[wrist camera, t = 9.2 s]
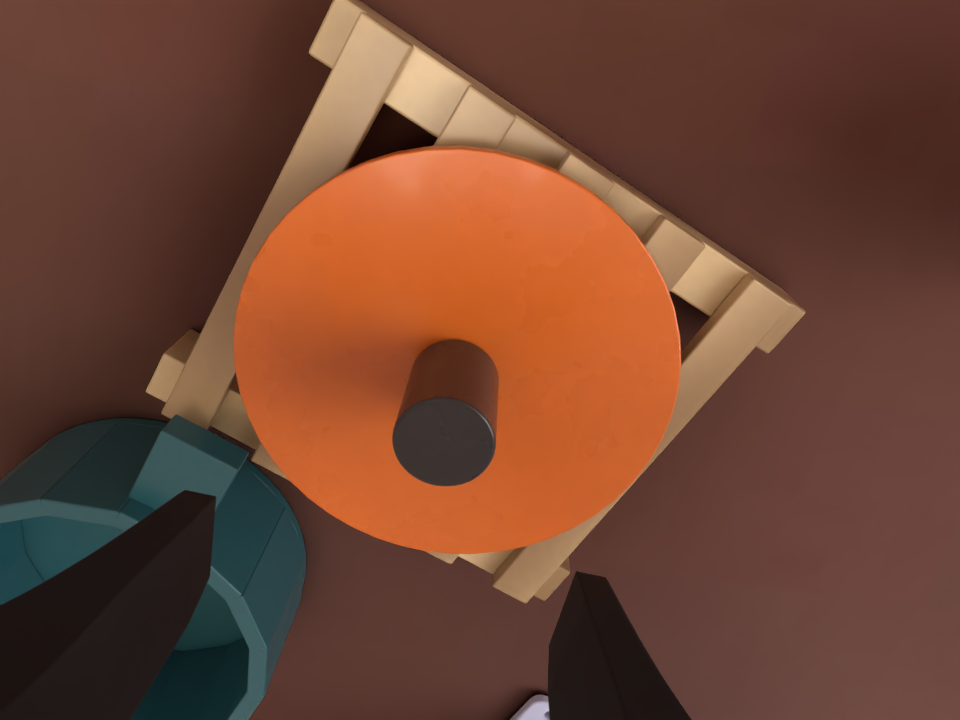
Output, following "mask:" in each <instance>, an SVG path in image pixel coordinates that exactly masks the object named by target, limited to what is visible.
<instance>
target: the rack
mask: <svg viewBox="0 0 960 720" xmlns="http://www.w3.org/2000/svg"><path fill="white" fill-rule="evenodd" d="M309 54H310V55H311V56H313V57H314V58H316V59H317V60H319V61H320V62H322V63H323V64H325V65H326V66H328V67H329V68H331V69H332V70H331V72H330V74H329V76H328V78H327V80H326V82H325V84H324V86H323V88H322V90H321V92H320V94H319V96H318V98H317V101H316V103H315V105H314V107H313V109H312V111H311V113H310V115H309V117H308V119H307V121H306V123H305V125H304V127H303V129H302V131H301V133H300V135H299V137H298V139H297V141H296V143H295V145H294V147H293V149H292V151H291V153H290V155H289V157H288V159H287V161H286V163H285V165H284V167H283V169H282V171H281V173H280V175H279V177H278V179H277V181H276V183H275V185H274V187H273V189H272V191H271V193H270V195H269V197H268V199H267V201H266V203H265V205H264V207H263V209H262V211H261V213H260V215H259V217H258V219H257V221H256V223H255V225H254V227H253V229H252V231H251V233H250V235H249V237H248V239H247V241H246V243H245V245H244V247H243V249H242V251H241V253H240V255H239V257H238V259H237V261H236V263H235V265H234V267H233V269H232V271H231V273H230V275H229V277H228V279H227V281H226V283H225V285H224V287H223V289H222V291H221V293H220V295H219V297H218V299H217V301H216V303H215V305H214V307H213V309H212V311H211V313H210V315H209V317H208V319H207V321H206V323H205V325H204V327H203V329H202V331H201V334H199V333H198V332H196V331H194V330H192V329H190V330H189V331H188V332H187V333H186V334H185V335H184V336H182V337H181V338H180V339H179V340H178V341H177V342H176V343H175V344H174V345H173V346H171V347H170V348H169V349H168V350H167V351H166V352H165V353H164V354H163V356H162V358H161V360H160V362H159V364H158V366H157V368H156V370H155V373H154V375H153V377H152V379H151V381H150V383H149V385H148V387H147V389H146V392H147V393H148V394H150V395H152V396H154V397H156V398H158V399H160V400H162V401H164V402H166V404H165V406H164V408H163V410H162V413H161V414H162V415H164V416H166V417H168V418H170V419H172V418H173V417H174V415H176V414H177V415H179V416H181V417H183V418H185V419H187V420H189V421H191V422H193V423H194V424H196V425H198V426H200V427H202V428H204V429H206V430H207V429H208V428H209V426H211V427H213V428H215V429H217V430H219V431H221V432H223V433H225V434H227V435H228V436H230V437H232V438H234V439H236V440H238V441H240V442H242V443H244V444H246V445H248V446H249V447H251V448H253V449H255V452H254V454H253V455H252V457H251V461H252V462H254V463H256V464H258V465H260V466H262V467H264V468H266V469H268V470H270V471H272V472H274V473H275V474H277V475H279V476H281V477H283V478H285V479H287V480H289V479H288V478H287V477H286V476H285V474H284V473H283V472H282V471H281V470H280V469H279V467H278V466H277V465H276V464H275V463H274V462H273V460H272V459H271V457H270V456H269V454H268V452H267V451H266V449H265V448H264V446H263V445H262V443H261V442H260V440H259V438H258V436H257V434H256V432H255V430H254V428H253V426H252V424H251V422H250V420H249V418H248V416H247V413H246V410H245V407H244V404H243V401H242V398H241V395H240V392H239V387H238V382H237V376H236V371H235V366H234V345H233V336H234V326H235V316H236V310H237V306H238V302H239V298H240V294H241V290H242V286H243V284H244V281H245V279H246V276H247V274H248V272H249V269H250V267H251V264H252V262H253V260H254V258H255V257H256V255H257V253H258V252H259V250H260V248H261V247H262V245H263V243H264V242H265V240H266V238H267V237H268V235H269V234H270V233H271V232H272V231H273V229H274V228H275V227H276V226H277V225H278V223H279V222H280V221H281V220H282V219H283V217H284V216H285V215H286V214H287V213H288V212H289V211H290V210H291V209H292V208H294V207H295V206H296V205H297V204H298V203H299V202H300V201H301V200H303V199H304V198H305V197H306V196H307V195H308V194H309V193H311V192H312V191H313V190H315V189H316V188H318V187H319V186H321V185H322V184H324V183H325V182H327V181H328V180H330V179H331V178H333V177H334V176H336V175H337V174H339V173H341V172H343V171H346V170H348V169H349V167H350V165H351V163H352V161H353V159H354V158H355V156H356V154H357V152H358V150H359V148H360V146H361V145H362V143H363V141H364V139H365V137H366V135H367V133H368V132H369V130H370V128H371V126H372V124H373V122H374V120H375V119H376V117H377V115H378V113H379V111H380V109H381V107H382V106H383V104H386V105H387V106H389V107H390V108H392V109H393V110H395V111H396V112H398V113H400V114H401V115H403V116H404V117H406V118H407V119H409V120H410V121H412V122H413V123H415V124H416V125H418V126H419V127H421V128H422V129H424V130H425V131H427V132H429V133H430V134H432V135H433V136H435V137H436V138H438V139H437V140H436V142H435V144H434V145H433V146H458V145H463V146H472V147H480V148H489V149H496V150H500V151H504V152H508V153H512V154H516V155H520V156H524V157H527V158H530V159H532V160H535V161H537V162H540V163H542V164H545V165H547V166H549V167H552V168H554V169H557V170H559V171H560V172H562V173H564V174H566V175H567V176H569V177H571V178H573V179H574V180H576V181H578V182H580V183H581V184H583V185H585V186H586V187H587V188H589V189H590V190H591V191H593V192H594V193H595V194H596V195H598V196H599V197H600V198H602V199H603V200H604V201H605V202H607V203H608V204H609V205H610V206H611V207H612V208H613V209H614V210H615V211H616V212H617V213H618V214H619V215H620V216H621V217H622V218H623V219H624V220H625V221H626V222H627V223H628V224H629V225H630V226H631V227H632V229H633V230H634V231H635V233H636V234H637V236H638V237H639V238H640V240H641V241H642V242H643V244H644V245H645V247H646V248H647V249H648V251H649V252H650V254H651V255H652V257H653V259H654V261H655V263H656V265H657V267H658V269H659V271H660V272H661V274H662V276H663V278H664V280H665V282H666V285H667V288H668V291H669V292H670V291H671V292H673V293H674V294H676V295H677V296H679V297H680V298H682V299H683V300H685V301H686V302H688V303H690V304H691V305H693V306H694V307H696V308H697V309H699V310H700V311H702V312H703V313H705V314H706V315H708V316H709V317H710V318H709V319H708V320H707V322H706V323H705V324H704V325H703V326H702V328H701V329H700V330H699V331H698V332H697V333H696V335H695V336H694V337H693V338H692V339H691V341H690V342H689V343H688V344H687V345H686V347H685V348H684V349H683V350H682V351H681V371H680V381H679V390H678V394H677V398H676V402H675V406H674V410H673V414H672V417H671V419H670V422H669V424H668V426H667V429H666V431H665V434H664V436H663V439H662V441H661V442H660V444H659V446H658V447H657V449H656V451H655V453H654V454H653V456H652V458H651V459H650V461H649V463H648V464H647V465H646V466H645V468H644V469H643V470H642V472H641V473H640V474H639V475H638V477H637V478H636V479H635V481H636V480H637V479H638V478H639V476H640V475H641V474H642V473H643V472H644V471H645V470H646V469H647V468H648V466H649V465H650V464H651V463H652V462H653V461H654V460H655V459H656V457H657V456H658V455H659V454H660V453H661V452H662V451H663V450H664V448H665V447H666V446H667V445H668V444H669V443H670V442H671V441H672V440H673V438H674V437H675V436H676V435H677V434H678V433H679V432H680V431H681V429H682V428H683V427H684V426H685V425H686V424H687V423H688V422H689V421H690V419H691V418H692V417H693V416H694V415H695V414H696V413H697V412H698V410H699V409H700V408H701V407H702V406H703V405H704V404H705V403H706V401H707V400H708V399H709V398H710V397H711V396H712V395H713V394H714V393H715V391H716V390H717V389H718V388H719V387H720V386H721V385H722V384H723V382H724V381H725V380H726V379H727V378H728V377H729V376H730V375H731V373H732V372H733V371H734V370H735V369H736V368H737V367H738V366H739V365H740V363H741V362H742V361H743V360H744V359H745V358H746V357H747V356H748V354H749V353H750V352H751V351H752V350H753V349H754V348H755V347H757V348H758V349H760V350H761V351H763V352H764V353H767V354H768V353H770V352H771V351H772V349H773V348H774V347H775V346H776V345H777V344H778V343H779V342H780V341H781V340H782V338H783V337H784V336H785V335H786V334H787V333H788V332H789V331H790V330H791V329H792V327H793V326H794V325H795V324H796V323H797V322H798V321H799V320H800V319H801V318H802V316H803V315H804V314H805V310H804V309H803V308H802V307H801V306H800V305H798V304H797V303H796V302H795V301H794V300H793V299H792V298H791V297H790V296H789V295H788V294H787V293H786V292H785V291H784V290H783V289H782V288H780V287H779V286H777V285H776V284H774V283H773V282H771V281H770V280H768V279H767V278H765V277H764V276H762V275H761V274H760V273H758V272H757V271H755V270H754V269H752V268H751V267H749V266H748V265H746V264H745V263H743V262H742V261H741V260H739V259H738V258H736V257H735V256H733V255H732V254H730V253H729V252H727V251H726V250H724V249H723V248H721V247H720V246H719V245H717V244H716V243H714V242H713V241H711V240H710V239H708V238H707V237H705V236H704V235H702V234H701V233H699V232H698V231H697V230H695V229H694V228H692V227H691V226H689V225H688V224H686V223H685V222H683V221H682V220H680V219H679V218H677V217H676V216H675V215H673V214H672V213H670V212H669V211H667V210H666V209H664V208H663V207H661V206H660V205H658V204H657V203H656V202H654V201H653V200H651V199H650V198H648V197H647V196H645V195H644V194H642V193H641V192H639V191H638V190H636V189H635V188H634V187H632V186H631V185H629V184H628V183H626V182H625V181H623V180H622V179H620V178H619V177H617V176H616V175H614V174H613V173H612V172H610V171H609V170H607V169H606V168H604V167H603V166H601V165H600V164H598V163H597V162H595V161H594V160H592V159H591V158H590V157H588V156H587V155H585V154H584V153H582V152H581V151H579V150H578V149H576V148H575V147H573V146H572V145H571V144H569V143H568V142H566V141H565V140H563V139H562V138H560V137H559V136H557V135H556V134H554V133H553V132H551V131H550V130H549V129H547V128H546V127H544V126H543V125H541V124H540V123H538V122H537V121H535V120H534V119H532V118H531V117H529V116H528V115H527V114H525V113H524V112H522V111H521V110H519V109H518V108H516V107H515V106H513V105H512V104H510V103H509V102H508V101H506V100H505V99H503V98H502V97H500V96H499V95H497V94H496V93H494V92H493V91H491V90H490V89H488V88H487V87H486V86H484V85H483V84H481V83H480V82H478V81H477V80H475V79H474V78H472V77H471V76H469V75H468V74H466V73H465V72H464V71H462V70H461V69H459V68H458V67H456V66H455V65H453V64H452V63H450V62H449V61H447V60H446V59H444V58H443V57H442V56H440V55H439V54H437V53H436V52H434V51H433V50H431V49H430V48H428V47H427V46H425V45H424V44H423V43H421V42H420V41H418V40H417V39H415V38H414V37H412V36H411V35H409V34H408V33H406V32H405V31H403V30H402V29H401V28H399V27H398V26H396V25H395V24H393V23H392V22H390V21H389V20H387V19H386V18H384V17H383V16H381V15H380V14H379V13H377V12H376V11H374V10H373V9H371V8H370V7H368V6H367V5H365V4H364V3H362V2H361V1H359V0H333V1H332V3H331V5H330V8H329V10H328V12H327V14H326V16H325V18H324V20H323V22H322V24H321V26H320V28H319V31H318V33H317V35H316V37H315V39H314V41H313V43H312V45H311V47H310V49H309ZM635 481H634V482H635ZM634 482H633V483H634ZM633 483H632V484H633ZM632 484H631V485H632ZM631 485H630V486H629V487H628V488H627V489H626V490H625V491H624V492H623V493H622V494H621V495H620V496H619V497H618V498H617V499H616V500H614V501H613V502H612V503H611V504H609V505H608V506H607V507H605V508H604V509H603V510H601V511H600V512H599V513H598V514H596V515H595V516H593V517H592V518H590V519H588V520H587V521H585V522H583V523H581V524H580V525H578V526H576V527H575V528H573V529H571V530H568V531H566V532H564V533H562V534H560V535H557V536H555V537H553V538H551V539H548V540H545V541H541V542H538V543H535V544H532V545H529V546H526V547H521V548H516V549H511V550H506V551H501V552H491V553H481V554H448V553H439V552H430V551H425V552H427V553H429V554H431V555H433V556H435V557H437V558H439V559H441V560H443V561H444V562H446V563H448V564H452V563H453V562H454V560H455V559H456V558H457V557H458V556H459V557H461V558H463V559H465V560H467V561H469V562H471V563H472V564H474V565H476V566H478V567H480V568H482V569H484V570H486V571H488V572H490V573H491V574H493V583H492V586H493V587H494V588H496V589H498V590H500V591H502V592H504V593H506V594H508V595H510V596H512V597H514V598H516V599H517V600H519V601H521V602H523V603H527V602H528V601H529V600H530V599H531V597H532V596H535V597H537V598H539V599H541V600H543V601H545V600H546V599H547V598H548V597H549V596H550V595H551V594H552V592H553V591H554V590H555V589H556V588H557V587H558V586H559V585H560V584H561V583H562V581H563V580H564V579H565V578H566V577H567V576H568V575H569V574H570V564H569V555H570V554H571V553H572V552H573V550H574V549H575V548H576V547H577V546H578V545H579V544H580V543H581V541H582V540H583V539H584V538H585V537H586V536H587V535H588V534H589V532H590V531H591V530H592V529H593V528H594V527H595V526H596V525H597V524H598V522H599V521H600V520H601V519H602V518H603V517H604V516H605V515H606V513H607V512H608V511H609V510H610V509H611V508H612V507H613V506H614V504H615V503H616V502H617V501H618V500H619V499H620V498H621V497H622V496H623V494H624V493H625V492H626V491H627V490H628V489H629V488H630V487H631Z"/></svg>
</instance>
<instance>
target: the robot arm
mask: <svg viewBox="0 0 960 720" xmlns="http://www.w3.org/2000/svg"><path fill="white" fill-rule="evenodd" d="M215 507H216V496H212V495H208V494H203V493H198V492H193V491H188V490H184V491H182V492H181V493H179V494H177V495H176V496H175V497H173V498H172V499H170V500H169V501H167V502H166V503H165V504H163V505H162V506H160V507H159V508H158V509H156V510H155V511H153V512H152V513H151V514H149V515H148V516H146V517H145V518H143V519H142V520H141V521H139V522H138V523H136V524H135V525H133V526H132V527H130V528H129V529H128V530H126V531H125V532H123V533H122V534H120V535H119V536H117V537H116V538H114V539H113V540H111V541H110V542H108V543H107V544H105V545H104V546H102V547H101V548H99V549H97V550H96V551H94V552H93V553H91V554H90V555H88V556H87V557H85V558H83V559H82V560H80V561H78V562H77V563H75V564H73V565H72V566H70V567H68V568H67V569H65V570H63V571H62V572H60V573H58V574H57V575H55V576H53V577H52V578H50V579H48V580H47V581H45V582H43V583H41V584H39V585H38V586H36V587H34V588H32V589H30V590H29V591H27V592H25V593H23V594H21V595H19V596H17V597H15V598H13V599H12V600H10V601H8V602H6V603H4V604H2V605H0V720H131V718H132V716H133V715H134V713H135V711H136V710H137V708H138V706H139V705H140V703H141V702H142V700H143V698H144V697H145V695H146V693H147V692H148V690H149V688H150V687H151V685H152V684H153V682H154V680H155V679H156V677H157V675H158V674H159V672H160V670H161V669H162V667H163V666H164V664H165V662H166V661H167V659H168V657H169V656H170V654H171V652H172V651H173V649H174V647H175V646H176V644H177V642H178V641H179V639H180V637H181V636H182V634H183V632H184V631H185V629H186V627H187V626H188V624H189V622H190V619H191V617H192V615H193V613H194V611H195V609H196V607H197V605H198V602H199V600H200V598H201V596H202V593H203V591H204V589H205V587H206V584H207V582H208V580H209V578H210V570H211V557H212V545H213V532H214V519H215ZM510 720H691V718H690V717H689V716H688V714H687V713H686V711H685V710H684V708H683V707H682V706H681V704H680V703H679V701H678V700H677V698H676V697H675V695H674V694H673V692H672V691H671V689H670V688H669V686H668V685H667V683H666V681H665V680H664V678H663V677H662V675H661V674H660V672H659V670H658V669H657V667H656V665H655V664H654V662H653V660H652V659H651V657H650V655H649V654H648V652H647V650H646V649H645V647H644V645H643V644H642V642H641V640H640V638H639V637H638V635H637V633H636V631H635V629H634V628H633V626H632V624H631V622H630V621H629V619H628V617H627V615H626V613H625V611H624V610H623V608H622V606H621V604H620V602H619V600H618V598H617V597H616V595H615V593H614V591H613V589H612V587H611V585H610V584H609V582H608V580H607V579H606V577H601V576H596V575H591V574H586V573H582V572H577V571H576V573H575V576H574V579H573V581H572V584H571V587H570V590H569V592H568V595H567V598H566V601H565V603H564V606H563V609H562V612H561V614H560V617H559V620H558V622H557V625H556V628H555V631H554V633H553V636H552V639H551V642H550V644H549V666H548V696H545V695H535V696H533V697H532V698H530V699H529V700H528V701H527V702H526V703H525V704H524V705H523V706H522V707H521V708H520V709H519V710H518V712H517V713H516V714H515V715H514V716H513V717H512V718H511V719H510Z"/></svg>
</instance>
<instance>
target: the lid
mask: <svg viewBox="0 0 960 720" xmlns="http://www.w3.org/2000/svg"><path fill="white" fill-rule="evenodd" d="M233 345H234V366H235V371H236V376H237V382H238V387H239V392H240V395H241V398H242V401H243V404H244V407H245V410H246V413H247V416H248V418H249V420H250V422H251V424H252V426H253V428H254V430H255V432H256V434H257V436H258V438H259V440H260V442H261V443H262V445H263V446H264V448H265V449H266V451H267V452H268V454H269V456H270V457H271V459H272V460H273V462H274V463H275V464H276V465H277V466H278V467H279V469H280V470H281V471H282V472H283V473H284V474H285V476H286V477H287V478H288V479H289V480H290V481H291V482H292V483H293V484H294V485H295V486H296V487H297V488H298V489H299V490H300V491H301V492H302V493H303V494H304V495H306V496H307V497H308V498H309V499H310V500H311V501H313V502H314V503H316V504H317V505H318V506H320V507H321V508H322V509H324V510H325V511H326V512H328V513H329V514H331V515H332V516H334V517H336V518H337V519H339V520H341V521H343V522H344V523H346V524H348V525H349V526H351V527H353V528H355V529H358V530H360V531H362V532H364V533H366V534H369V535H371V536H373V537H375V538H378V539H381V540H385V541H388V542H391V543H394V544H397V545H400V546H404V547H409V548H414V549H418V550H423V551H430V552H439V553H448V554H481V553H491V552H501V551H506V550H511V549H516V548H521V547H526V546H529V545H532V544H535V543H538V542H541V541H545V540H548V539H551V538H553V537H555V536H557V535H560V534H562V533H564V532H566V531H568V530H571V529H573V528H575V527H576V526H578V525H580V524H581V523H583V522H585V521H587V520H588V519H590V518H592V517H593V516H595V515H596V514H598V513H599V512H600V511H601V510H603V509H604V508H605V507H607V506H608V505H609V504H611V503H612V502H613V501H614V500H616V499H617V498H618V497H619V496H620V495H621V494H622V493H623V492H624V491H625V490H626V489H627V488H628V487H629V486H630V485H631V484H632V483H633V482H634V481H635V479H636V478H637V477H638V475H639V474H640V473H641V472H642V470H643V469H644V468H645V466H646V465H647V464H648V463H649V461H650V459H651V458H652V456H653V454H654V453H655V451H656V449H657V447H658V446H659V444H660V442H661V441H662V439H663V436H664V434H665V431H666V429H667V426H668V424H669V422H670V419H671V417H672V414H673V410H674V406H675V402H676V398H677V394H678V390H679V381H680V371H681V344H680V333H679V327H678V322H677V317H676V312H675V308H674V305H673V302H672V299H671V296H670V293H669V291H668V288H667V285H666V282H665V280H664V278H663V276H662V274H661V272H660V271H659V269H658V267H657V265H656V263H655V261H654V259H653V257H652V255H651V254H650V252H649V251H648V249H647V248H646V247H645V245H644V244H643V242H642V241H641V240H640V238H639V237H638V236H637V234H636V233H635V231H634V230H633V229H632V227H631V226H630V225H629V224H628V223H627V222H626V221H625V220H624V219H623V218H622V217H621V216H620V215H619V214H618V213H617V212H616V211H615V210H614V209H613V208H612V207H611V206H610V205H609V204H608V203H607V202H605V201H604V200H603V199H602V198H600V197H599V196H598V195H596V194H595V193H594V192H593V191H591V190H590V189H589V188H587V187H586V186H585V185H583V184H581V183H580V182H578V181H576V180H574V179H573V178H571V177H569V176H567V175H566V174H564V173H562V172H560V171H559V170H557V169H554V168H552V167H549V166H547V165H545V164H542V163H540V162H537V161H535V160H532V159H530V158H527V157H524V156H520V155H516V154H512V153H508V152H504V151H500V150H496V149H489V148H480V147H472V146H463V145H458V146H427V147H421V148H414V149H408V150H402V151H396V152H393V153H390V154H387V155H383V156H380V157H377V158H373V159H370V160H367V161H365V162H363V163H361V164H358V165H356V166H354V167H352V168H350V169H348V170H346V171H343V172H341V173H339V174H337V175H336V176H334V177H333V178H331V179H330V180H328V181H327V182H325V183H324V184H322V185H321V186H319V187H318V188H316V189H315V190H313V191H312V192H311V193H309V194H308V195H307V196H306V197H305V198H304V199H303V200H301V201H300V202H299V203H298V204H297V205H296V206H295V207H294V208H292V209H291V210H290V211H289V212H288V213H287V214H286V215H285V216H284V217H283V219H282V220H281V221H280V222H279V223H278V225H277V226H276V227H275V228H274V229H273V231H272V232H271V233H270V234H269V235H268V237H267V238H266V240H265V242H264V243H263V245H262V247H261V248H260V250H259V252H258V253H257V255H256V257H255V258H254V260H253V262H252V264H251V267H250V269H249V272H248V274H247V276H246V279H245V281H244V284H243V286H242V290H241V294H240V298H239V302H238V306H237V310H236V316H235V326H234V336H233Z"/></svg>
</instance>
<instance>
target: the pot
mask: <svg viewBox="0 0 960 720" xmlns="http://www.w3.org/2000/svg"><path fill="white" fill-rule="evenodd" d="M248 455H249V452H248V451H246V450H244V449H242V448H240V447H238V446H237V445H235V444H233V443H231V442H229V441H227V440H225V439H223V438H221V437H219V436H217V435H215V434H214V433H212V432H210V431H208V430H206V429H204V428H202V427H200V426H198V425H196V424H194V423H193V422H191V421H189V420H187V419H185V418H183V417H181V416H179V415H177V414H176V415H174V417H173V418H172V419H171V420H170V421H169V422H168V423H166V422H161V421H156V420H147V419H138V418H115V419H107V420H99V421H94V422H90V423H86V424H82V425H78V426H76V427H73V428H71V429H69V430H66V431H64V432H62V433H59V434H58V435H56V436H55V437H53V438H52V439H50V440H49V441H47V442H46V443H45V444H44V445H42V446H41V447H40V448H39V449H37V450H36V451H35V452H33V453H32V454H31V455H29V456H28V457H27V458H25V459H24V460H22V461H21V462H20V463H19V464H18V465H16V466H15V467H14V468H13V469H12V470H11V471H10V472H8V473H7V474H6V475H5V476H4V477H3V478H2V479H0V605H2V604H4V603H6V602H8V601H10V600H12V599H13V598H15V597H17V596H19V595H21V594H23V593H25V592H27V591H29V590H30V589H32V588H34V587H36V586H38V585H39V584H41V583H43V582H45V581H47V580H48V579H50V578H52V577H53V576H55V575H57V574H58V573H60V572H62V571H63V570H65V569H67V568H68V567H70V566H72V565H73V564H75V563H77V562H78V561H80V560H82V559H83V558H85V557H87V556H88V555H90V554H91V553H93V552H94V551H96V550H97V549H99V548H101V547H102V546H104V545H105V544H107V543H108V542H110V541H111V540H113V539H114V538H116V537H117V536H119V535H120V534H122V533H123V532H125V531H126V530H128V529H129V528H130V527H132V526H133V525H135V524H136V523H138V522H139V521H141V520H142V519H143V518H145V517H146V516H148V515H149V514H151V513H152V512H153V511H155V510H156V509H158V508H159V507H160V506H162V505H163V504H165V503H166V502H167V501H169V500H170V499H172V498H173V497H175V496H176V495H177V494H179V493H181V492H182V491H184V490H188V491H193V492H198V493H203V494H208V495H212V496H216V507H215V519H214V532H213V545H212V557H211V570H210V578H209V580H208V582H207V584H206V587H205V589H204V591H203V593H202V596H201V598H200V600H199V602H198V605H197V607H196V609H195V611H194V613H193V615H192V617H191V619H190V622H189V624H188V626H187V627H186V629H185V631H184V632H183V634H182V636H181V637H180V639H179V641H178V642H177V644H176V646H175V647H174V649H173V651H172V652H171V654H170V656H169V657H168V659H167V661H166V662H165V664H164V666H163V667H162V669H161V670H160V672H159V674H158V675H157V677H156V679H155V680H154V682H153V684H152V685H151V687H150V688H149V690H148V692H147V693H146V695H145V697H144V698H143V700H142V702H141V703H140V705H139V706H138V708H137V710H136V711H135V713H134V715H133V716H132V718H131V720H248V719H249V717H250V716H251V715H252V713H253V712H254V710H255V709H256V708H257V706H258V705H259V704H260V702H261V701H262V699H263V698H264V696H265V694H266V691H267V688H268V686H269V683H270V680H271V678H272V675H273V672H274V670H275V667H276V664H277V662H278V659H279V656H280V654H281V651H282V648H283V646H284V643H285V640H286V638H287V635H288V632H289V630H290V627H291V624H292V622H293V619H294V616H295V614H296V611H297V608H298V606H299V603H300V600H301V597H302V587H303V584H304V579H305V573H306V551H305V545H304V539H303V536H302V533H301V530H300V527H299V524H298V521H297V519H296V517H295V515H294V513H293V511H292V509H291V507H290V506H289V504H288V503H287V501H286V500H285V498H284V497H283V495H282V494H281V492H280V491H279V490H278V489H277V488H276V487H275V485H274V484H273V483H272V482H271V481H270V480H269V478H268V477H267V476H265V475H264V474H263V473H262V472H261V471H260V470H259V469H258V468H257V467H256V466H255V465H254V464H252V463H251V462H250V461H248V460H247V459H246V458H247V456H248Z"/></svg>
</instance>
